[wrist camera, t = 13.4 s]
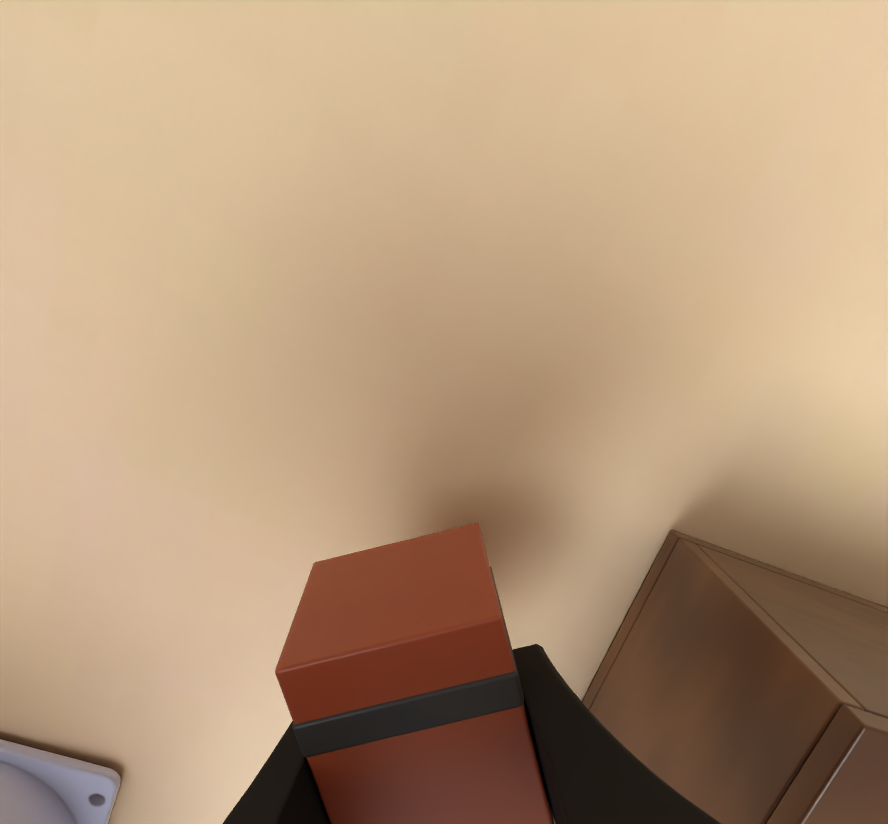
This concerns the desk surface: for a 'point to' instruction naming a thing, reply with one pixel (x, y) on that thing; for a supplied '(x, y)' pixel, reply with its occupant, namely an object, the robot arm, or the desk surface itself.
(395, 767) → the block
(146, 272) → the desk surface
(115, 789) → the robot arm
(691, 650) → the cabinet
